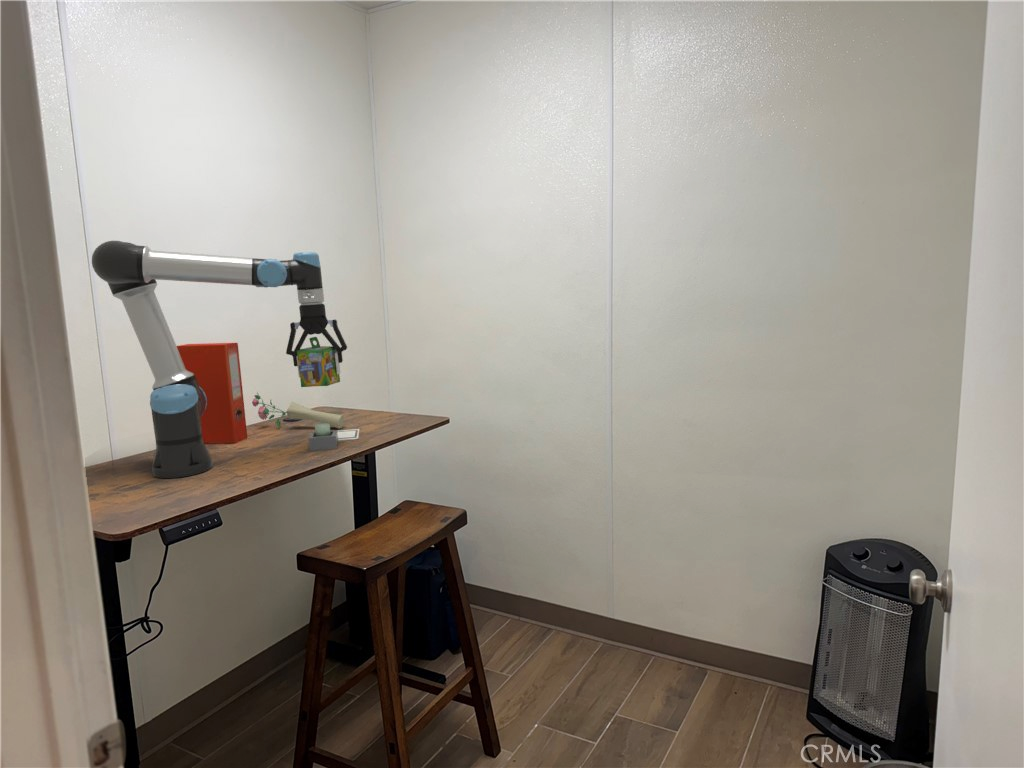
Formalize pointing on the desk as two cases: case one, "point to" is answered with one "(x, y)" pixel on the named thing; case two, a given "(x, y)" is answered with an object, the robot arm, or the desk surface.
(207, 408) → the file binder
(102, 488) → the desk surface
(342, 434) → the white bordered panel
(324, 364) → the chalk box
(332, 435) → the button housing
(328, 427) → the button
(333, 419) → the flower vase
